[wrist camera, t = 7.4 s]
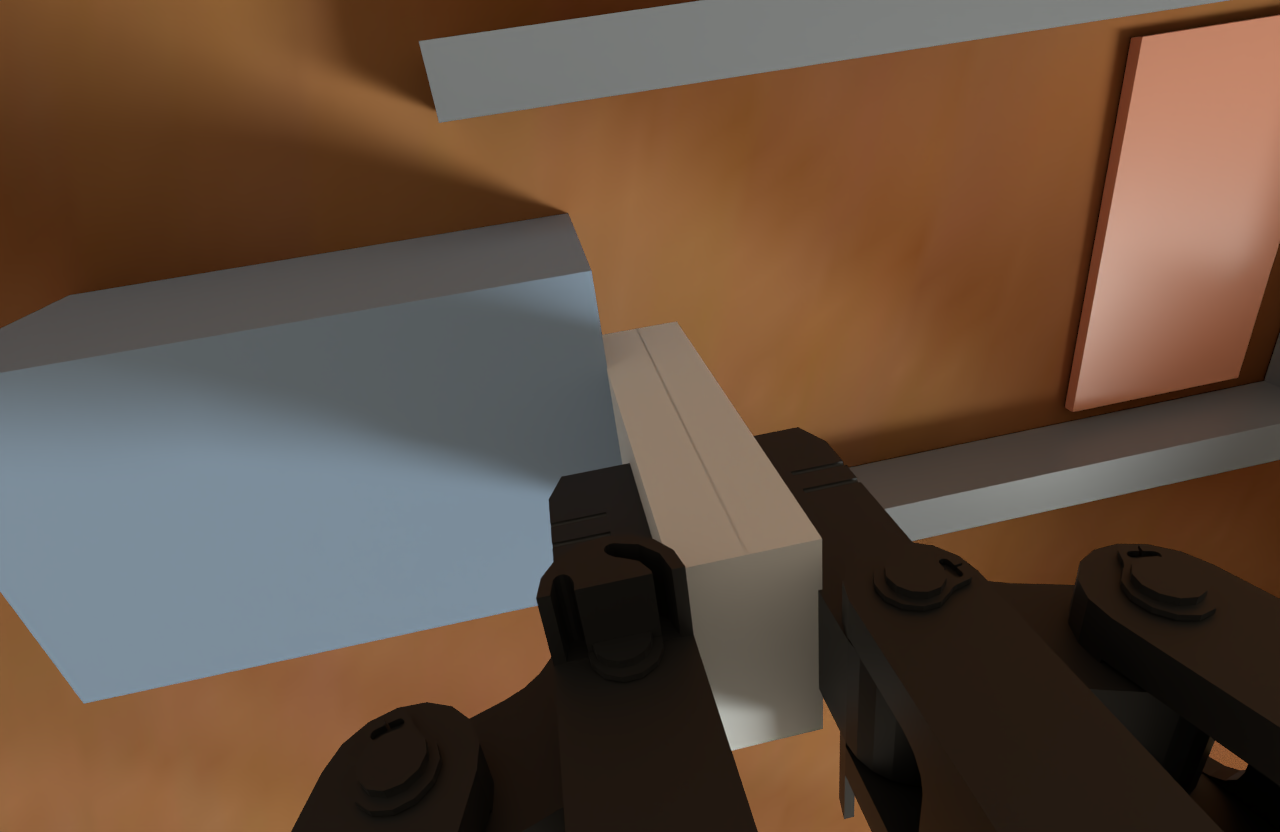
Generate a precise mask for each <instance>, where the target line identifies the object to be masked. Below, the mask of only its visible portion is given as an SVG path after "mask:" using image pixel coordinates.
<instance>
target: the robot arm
mask: <svg viewBox="0 0 1280 832" xmlns="http://www.w3.org/2000/svg"><path fill="white" fill-rule="evenodd" d="M602 338H603V344H604V350H605V356H606V362H607V374H608V380H609V386H610V392H611V398H612V404H613V410H614V416H615V422H616V428H617V435H618V441H619V447H620V453H621V459H622V465H617V466H612V467H607V468H602V469H597V470H592V471H587V472H582V473H577V474H572V475H567V476H562V477H561V478H560V480H559V482H558V483H557V485H556V487H555V489H554V491H553V492H552V494H551V496H550V498H549V499H548V500H549V513H550V524H551V538H552V546H553V548H552V551H553V563H552V564H551V566H550V567H549V568H548V570H547V571H546V572H545V573H544V575H543V576H542V577H541V579H540V584H539V588H538V592H537V596H536V600H537V604H538V608H539V612H540V615H541V619H542V623H543V627H544V631H545V634H546V638H547V642H548V646H549V650H550V653H551V659H550V660H549V661H548V663H547V664H546V666H545V667H544V668H543V670H542V671H541V673H540V674H539V675H538V676H537V677H536V678H534V679H533V680H532V681H531V682H530V683H529V684H528V685H527V686H526V687H525V688H524V689H522V690H520V691H519V692H517V693H516V694H514V695H513V696H511V697H509V698H508V699H506V700H505V701H503V702H501V703H499V704H497V705H495V706H493V707H491V708H489V709H487V710H485V711H483V712H482V713H480V714H478V715H476V716H474V717H472V718H470V719H469V718H467V717H466V716H464V715H463V714H462V713H460V712H459V711H458V710H456V709H455V708H453V707H452V706H446V705H440V704H434V703H428V702H426V703H421V704H416V705H410V706H405V707H400V708H397V709H395V710H393V711H391V712H388V713H386V714H384V715H382V716H380V717H378V718H376V719H374V720H372V721H370V722H368V723H367V724H366V725H365V726H364V727H362V728H361V729H360V730H359V731H358V732H356V733H355V734H354V735H353V736H352V737H350V738H349V739H348V740H347V741H346V742H345V743H343V744H342V745H341V747H340V748H339V749H338V751H337V752H336V754H335V755H334V756H333V758H332V759H331V761H330V762H329V763H328V765H327V766H326V768H325V769H324V770H323V772H322V773H321V775H320V777H319V779H318V781H317V783H316V785H315V787H314V789H313V791H312V793H311V795H310V797H309V798H308V800H307V802H306V804H305V806H304V808H303V810H302V812H301V814H300V816H299V818H298V820H297V822H296V823H295V825H294V827H293V829H292V831H291V832H758V831H757V828H756V825H755V822H754V819H753V816H752V813H751V810H750V806H749V803H748V800H747V797H746V794H745V791H744V788H743V785H742V782H741V779H740V776H739V773H738V770H737V766H736V763H735V760H734V757H733V754H732V750H736V749H740V748H744V747H748V746H753V745H757V744H761V743H765V742H769V741H773V740H778V739H782V738H786V737H790V736H794V735H798V734H803V733H807V732H811V731H815V730H819V729H823V698H824V700H825V702H826V704H827V706H828V708H829V710H830V712H831V714H832V716H833V718H834V720H835V722H836V724H837V726H838V728H839V730H840V781H839V799H840V803H841V808H842V812H843V816H844V819H846V818H850V817H854V797H856V799H857V801H858V803H859V806H860V808H861V810H862V812H863V814H864V816H865V818H866V820H867V823H868V825H869V827H870V829H871V831H872V832H1280V599H1279V598H1277V597H1275V596H1273V595H1271V594H1269V593H1267V592H1265V591H1264V590H1262V589H1260V588H1258V587H1256V586H1254V585H1252V584H1250V583H1248V582H1246V581H1244V580H1242V579H1240V578H1238V577H1236V576H1234V575H1232V574H1231V573H1229V572H1227V571H1225V570H1223V569H1221V568H1219V567H1217V566H1215V565H1213V564H1210V563H1208V562H1206V561H1203V560H1201V559H1198V558H1196V557H1193V556H1191V555H1188V554H1186V553H1183V552H1181V551H1176V550H1171V549H1167V548H1162V547H1157V546H1153V545H1148V544H1115V545H1111V546H1107V547H1103V548H1099V549H1096V550H1093V551H1092V552H1091V553H1090V554H1089V555H1087V556H1086V557H1085V558H1084V559H1083V560H1082V561H1080V564H1079V568H1078V573H1077V577H1076V582H1075V585H1053V584H1014V583H1001V582H991V581H987V580H986V579H985V578H984V577H983V575H982V574H981V573H980V572H979V571H978V570H976V569H975V568H974V567H972V566H971V565H970V564H968V563H967V562H966V561H964V560H963V559H962V558H961V557H959V556H958V555H955V554H953V553H950V552H948V551H945V550H943V549H940V548H938V547H935V546H932V545H926V544H919V543H913V542H912V541H911V540H910V538H909V537H908V536H907V535H906V534H905V533H904V532H903V530H902V529H901V528H900V527H899V526H898V525H897V523H896V522H895V521H894V520H893V519H892V518H891V516H890V515H889V514H888V513H887V512H886V511H885V509H884V508H883V507H882V506H881V505H880V504H879V502H878V501H877V500H876V499H875V498H874V497H873V496H872V494H871V493H870V492H869V491H868V490H867V489H866V487H865V486H864V485H863V484H862V483H861V482H858V480H857V477H856V476H855V475H854V473H853V472H852V471H851V470H850V469H849V468H848V466H847V465H844V464H843V461H842V460H841V458H840V457H839V456H838V455H837V454H836V453H835V451H834V450H833V449H832V448H831V447H830V446H829V444H828V443H827V442H826V441H824V440H822V439H820V438H818V437H816V436H814V435H812V434H810V433H808V432H806V431H804V430H802V429H800V428H798V427H797V428H792V429H787V430H782V431H777V432H772V433H767V434H762V435H757V436H753V435H752V433H751V432H750V430H749V429H748V427H747V426H746V424H745V423H744V421H743V420H742V418H741V417H740V415H739V414H738V412H737V411H736V409H735V408H734V406H733V405H732V403H731V402H730V400H729V399H728V397H727V396H726V394H725V393H724V391H723V390H722V388H721V387H720V385H719V384H718V382H717V381H716V380H715V378H714V377H713V375H712V374H711V372H710V371H709V369H708V368H707V366H706V365H705V363H704V362H703V360H702V359H701V357H700V356H699V354H698V353H697V351H696V350H695V348H694V347H693V345H692V344H691V342H690V341H689V339H688V338H687V336H686V335H685V333H684V332H683V330H682V329H681V327H680V326H679V324H678V323H677V322H672V323H666V324H660V325H655V326H649V327H644V328H638V329H633V330H627V331H622V332H616V333H611V334H605V335H602ZM1215 740H1216V741H1217V742H1218V743H1220V744H1221V745H1223V746H1224V747H1225V748H1227V749H1228V750H1230V751H1231V752H1232V753H1234V754H1235V755H1237V756H1238V757H1239V758H1241V759H1242V760H1244V761H1245V762H1246V763H1248V766H1247V768H1246V770H1237V769H1233V768H1230V767H1227V766H1224V765H1222V764H1220V763H1219V762H1217V761H1215V760H1214V759H1212V758H1210V757H1209V754H1210V751H1211V749H1212V746H1213V744H1214V741H1215Z"/></svg>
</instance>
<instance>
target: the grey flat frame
mask: <svg viewBox="0 0 1280 832" xmlns="http://www.w3.org/2000/svg"><path fill="white" fill-rule="evenodd" d="M1221 1H1228V0H701V1H694V2H687V3H680V4H673V5H666V6H659V7H652V8H646V9H639V10H632V11H625V12H618V13H611V14H604V15H597V16H590V17H583V18H576V19H569V20H562V21H555V22H549V23H542V24H535V25H528V26H521V27H514V28H507V29H500V30H493V31H486V32H479V33H472V34H465V35H458V36H451V37H445V38H438V39H431V40H424V41H419V44H420V48H421V52H422V56H423V60H424V64H425V68H426V72H427V76H428V80H429V84H430V88H431V92H432V96H433V100H434V104H435V108H436V112H437V116H438V120H439V123H441V122H447V121H453V120H460V119H466V118H473V117H479V116H486V115H492V114H499V113H505V112H511V111H518V110H524V109H531V108H537V107H544V106H550V105H557V104H563V103H570V102H576V101H582V100H589V99H595V98H602V97H608V96H615V95H621V94H628V93H634V92H641V91H647V90H653V89H660V88H666V87H673V86H679V85H686V84H692V83H699V82H705V81H712V80H718V79H724V78H731V77H737V76H744V75H750V74H757V73H763V72H770V71H776V70H783V69H789V68H795V67H802V66H808V65H815V64H821V63H828V62H834V61H841V60H847V59H854V58H860V57H866V56H873V55H879V54H886V53H892V52H899V51H905V50H912V49H918V48H925V47H931V46H937V45H944V44H950V43H957V42H963V41H970V40H976V39H983V38H989V37H996V36H1002V35H1008V34H1015V33H1021V32H1028V31H1034V30H1041V29H1047V28H1054V27H1060V26H1067V25H1073V24H1079V23H1086V22H1092V21H1099V20H1105V19H1112V18H1118V17H1125V16H1131V15H1138V14H1144V13H1150V12H1157V11H1163V10H1170V9H1176V8H1183V7H1189V6H1196V5H1202V4H1209V3H1215V2H1221ZM1279 243H1280V14H1278V15H1272V16H1266V17H1259V18H1253V19H1247V20H1240V21H1234V22H1228V23H1221V24H1215V25H1209V26H1202V27H1196V28H1190V29H1183V30H1177V31H1171V32H1164V33H1158V34H1152V35H1145V36H1139V37H1133V38H1131V42H1130V47H1129V53H1128V58H1127V64H1126V69H1125V75H1124V81H1123V86H1122V92H1121V97H1120V103H1119V108H1118V114H1117V119H1116V125H1115V131H1114V136H1113V142H1112V147H1111V153H1110V158H1109V164H1108V170H1107V175H1106V181H1105V186H1104V192H1103V197H1102V203H1101V209H1100V214H1099V220H1098V225H1097V231H1096V236H1095V242H1094V248H1093V253H1092V259H1091V264H1090V270H1089V275H1088V281H1087V287H1086V292H1085V298H1084V303H1083V309H1082V314H1081V320H1080V326H1079V331H1078V337H1077V342H1076V348H1075V353H1074V359H1073V364H1072V370H1071V376H1070V381H1069V387H1068V392H1067V398H1066V403H1065V408H1067V409H1068V410H1070V411H1072V412H1076V411H1081V410H1085V409H1090V408H1095V407H1100V406H1105V405H1109V404H1114V403H1119V402H1124V401H1129V400H1133V399H1138V398H1143V397H1148V396H1153V395H1157V394H1162V393H1167V392H1172V391H1177V390H1181V389H1186V388H1191V387H1196V386H1201V385H1205V384H1210V383H1215V382H1220V381H1225V380H1229V379H1234V378H1238V376H1239V373H1240V370H1241V366H1242V363H1243V360H1244V357H1245V353H1246V350H1247V347H1248V344H1249V340H1250V337H1251V334H1252V331H1253V327H1254V324H1255V321H1256V318H1257V314H1258V311H1259V308H1260V305H1261V301H1262V298H1263V295H1264V292H1265V288H1266V285H1267V282H1268V279H1269V275H1270V272H1271V269H1272V265H1273V262H1274V259H1275V256H1276V252H1277V249H1278V246H1279ZM1276 460H1280V334H1279V337H1278V340H1277V343H1276V346H1275V349H1274V352H1273V355H1272V358H1271V361H1270V364H1269V367H1268V370H1267V373H1266V376H1265V380H1264V381H1261V382H1256V383H1251V384H1247V385H1242V386H1237V387H1232V388H1228V389H1223V390H1218V391H1213V392H1208V393H1204V394H1199V395H1194V396H1189V397H1185V398H1180V399H1175V400H1170V401H1165V402H1161V403H1156V404H1151V405H1146V406H1142V407H1137V408H1132V409H1127V410H1122V411H1118V412H1113V413H1108V414H1103V415H1099V416H1094V417H1089V418H1084V419H1080V420H1075V421H1070V422H1065V423H1060V424H1056V425H1051V426H1046V427H1041V428H1037V429H1032V430H1027V431H1022V432H1017V433H1013V434H1008V435H1003V436H998V437H994V438H989V439H984V440H979V441H974V442H970V443H965V444H960V445H955V446H951V447H946V448H941V449H936V450H931V451H927V452H922V453H917V454H912V455H908V456H903V457H898V458H893V459H888V460H884V461H879V462H874V463H869V464H865V465H860V466H855V467H850V468H849V469H850V470H851V471H852V472H853V473H854V475H855V476H856V477H857V480H858V482H861V483H862V484H863V485H864V486H865V487H866V489H867V490H868V491H869V492H870V493H871V494H872V496H873V497H874V498H875V499H876V500H877V501H878V502H879V504H880V505H881V506H882V507H883V508H884V509H885V511H886V512H887V513H888V514H889V515H890V516H891V518H892V519H893V520H894V521H895V522H896V523H897V525H898V526H899V527H900V528H901V529H902V530H903V532H904V533H905V534H906V535H907V536H908V537H909V538H910V540H911V541H915V540H919V539H924V538H928V537H933V536H937V535H942V534H946V533H951V532H955V531H960V530H964V529H969V528H973V527H978V526H982V525H987V524H991V523H996V522H1000V521H1005V520H1010V519H1014V518H1019V517H1023V516H1028V515H1032V514H1037V513H1041V512H1046V511H1050V510H1055V509H1059V508H1064V507H1068V506H1073V505H1077V504H1082V503H1086V502H1091V501H1095V500H1100V499H1105V498H1109V497H1114V496H1118V495H1123V494H1127V493H1132V492H1136V491H1141V490H1145V489H1150V488H1154V487H1159V486H1163V485H1168V484H1172V483H1177V482H1181V481H1186V480H1190V479H1195V478H1200V477H1204V476H1209V475H1213V474H1218V473H1222V472H1227V471H1231V470H1236V469H1240V468H1245V467H1249V466H1254V465H1258V464H1263V463H1267V462H1272V461H1276Z"/></svg>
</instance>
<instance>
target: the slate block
mask: <svg viewBox="0 0 1280 832" xmlns="http://www.w3.org/2000/svg"><path fill="white" fill-rule="evenodd" d="M617 465H622V459H621V453H620V447H619V441H618V435H617V428H616V422H615V416H614V410H613V404H612V398H611V392H610V386H609V380H608V374H607V362H606V356H605V350H604V344H603V338H602V332H601V326H600V320H599V314H598V308H597V302H596V296H595V290H594V284H593V278H592V272H591V269H590V266H589V264H588V261H587V259H586V256H585V254H584V251H583V249H582V246H581V244H580V241H579V239H578V237H577V234H576V232H575V229H574V227H573V224H572V222H571V219H570V217H569V214H568V213H566V214H560V215H554V216H547V217H541V218H535V219H529V220H523V221H517V222H511V223H505V224H499V225H493V226H487V227H481V228H475V229H469V230H462V231H456V232H450V233H444V234H438V235H432V236H426V237H420V238H414V239H408V240H402V241H396V242H390V243H384V244H377V245H371V246H365V247H359V248H353V249H347V250H341V251H335V252H329V253H323V254H317V255H311V256H305V257H299V258H292V259H286V260H280V261H274V262H268V263H262V264H256V265H250V266H244V267H238V268H232V269H226V270H220V271H213V272H207V273H201V274H195V275H189V276H183V277H177V278H171V279H165V280H159V281H153V282H147V283H141V284H135V285H128V286H122V287H116V288H110V289H104V290H98V291H92V292H86V293H80V294H74V295H69V296H67V297H65V298H63V299H61V300H58V301H56V302H54V303H52V304H50V305H48V306H46V307H44V308H42V309H40V310H38V311H36V312H33V313H31V314H29V315H27V316H25V317H23V318H21V319H19V320H17V321H15V322H13V323H11V324H9V325H6V326H4V327H2V328H0V592H1V593H2V594H3V596H4V597H5V598H6V600H7V601H8V602H9V604H10V605H11V606H12V608H13V609H14V610H15V612H16V613H17V614H18V616H19V617H20V618H21V620H22V621H23V622H24V624H25V625H26V627H27V628H28V629H29V631H30V632H31V633H32V635H33V636H34V637H35V639H36V640H37V641H38V643H39V644H40V645H41V647H42V648H43V649H44V651H45V652H46V653H47V655H48V656H49V657H50V659H51V660H52V661H53V663H54V664H55V665H56V667H57V668H58V669H59V671H60V672H61V673H62V675H63V676H64V678H65V679H66V680H67V682H68V683H69V684H70V686H71V687H72V688H73V690H74V691H75V692H76V694H77V695H78V696H79V698H80V699H81V700H82V702H83V703H89V702H93V701H98V700H103V699H107V698H112V697H116V696H121V695H126V694H130V693H135V692H140V691H144V690H149V689H153V688H158V687H163V686H167V685H172V684H177V683H181V682H186V681H190V680H195V679H200V678H204V677H209V676H214V675H218V674H223V673H228V672H232V671H237V670H241V669H246V668H251V667H255V666H260V665H265V664H269V663H274V662H278V661H283V660H288V659H292V658H297V657H302V656H306V655H311V654H315V653H320V652H325V651H329V650H334V649H339V648H343V647H348V646H353V645H357V644H362V643H366V642H371V641H376V640H380V639H385V638H390V637H394V636H399V635H403V634H408V633H413V632H417V631H422V630H427V629H431V628H436V627H440V626H445V625H450V624H454V623H459V622H464V621H468V620H473V619H477V618H482V617H487V616H491V615H496V614H501V613H505V612H510V611H515V610H519V609H524V608H528V607H533V606H538V604H537V600H536V596H537V592H538V588H539V584H540V579H541V577H542V576H543V575H544V573H545V572H546V571H547V570H548V568H549V567H550V566H551V564H552V563H553V551H552V548H553V546H552V538H551V524H550V513H549V500H548V499H549V498H550V496H551V494H552V492H553V491H554V489H555V487H556V485H557V483H558V482H559V480H560V478H561V477H562V476H567V475H572V474H577V473H582V472H587V471H592V470H597V469H602V468H607V467H612V466H617Z"/></svg>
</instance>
